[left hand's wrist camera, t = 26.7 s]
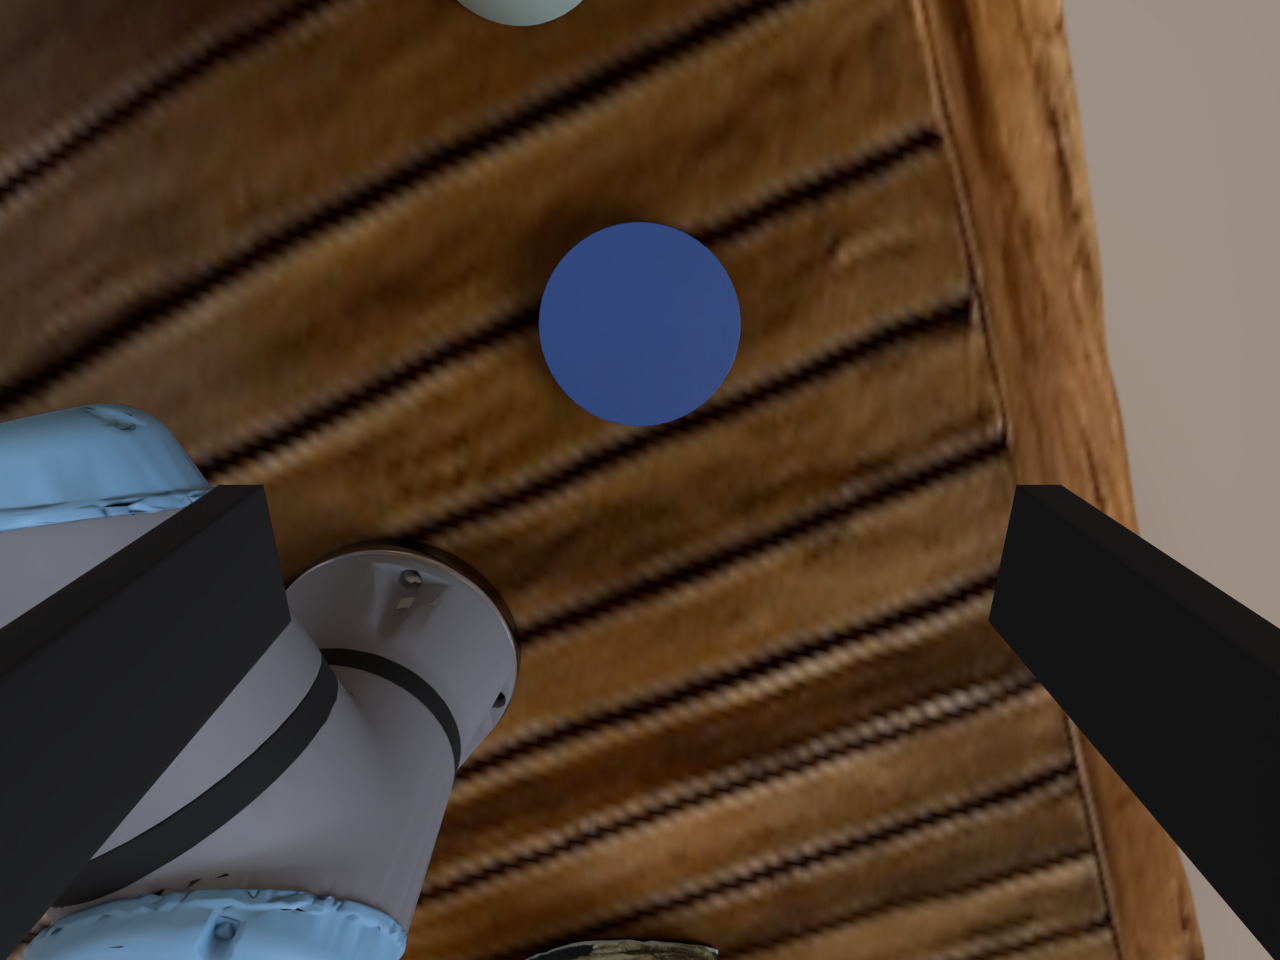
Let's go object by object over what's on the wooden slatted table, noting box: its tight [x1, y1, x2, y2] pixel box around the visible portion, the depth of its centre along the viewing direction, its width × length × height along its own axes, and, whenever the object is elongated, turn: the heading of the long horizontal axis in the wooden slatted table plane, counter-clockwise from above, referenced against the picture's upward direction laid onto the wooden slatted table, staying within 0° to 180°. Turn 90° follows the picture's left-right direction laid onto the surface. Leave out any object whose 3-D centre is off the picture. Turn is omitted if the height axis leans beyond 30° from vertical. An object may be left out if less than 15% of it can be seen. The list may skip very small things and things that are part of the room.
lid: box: [539, 221, 741, 426], centre depth 37 cm, size 10×10×2 cm
